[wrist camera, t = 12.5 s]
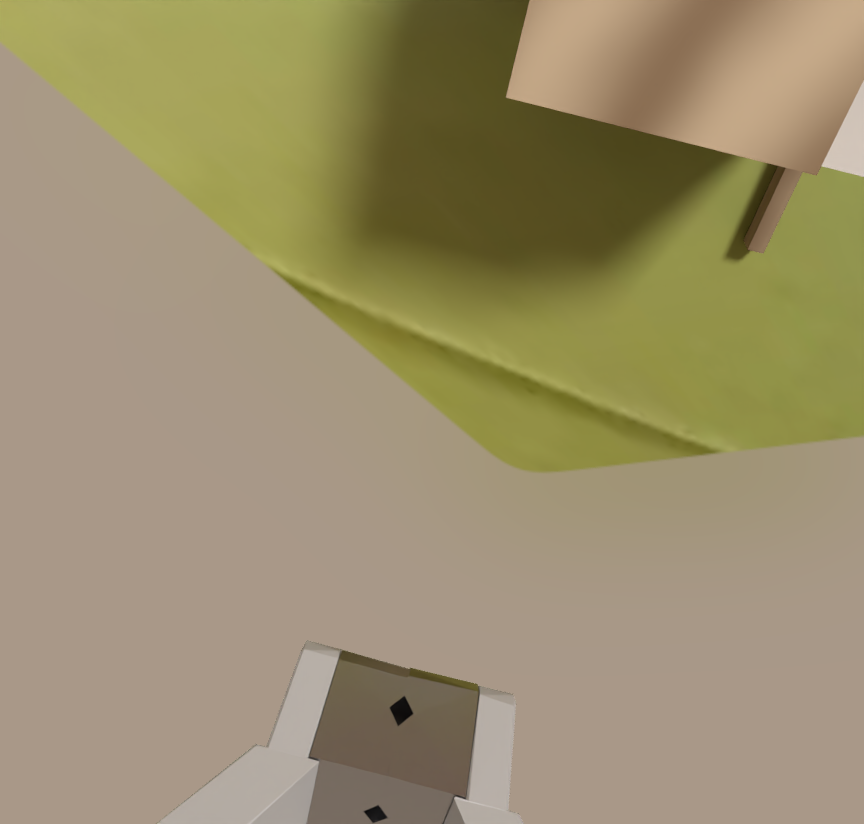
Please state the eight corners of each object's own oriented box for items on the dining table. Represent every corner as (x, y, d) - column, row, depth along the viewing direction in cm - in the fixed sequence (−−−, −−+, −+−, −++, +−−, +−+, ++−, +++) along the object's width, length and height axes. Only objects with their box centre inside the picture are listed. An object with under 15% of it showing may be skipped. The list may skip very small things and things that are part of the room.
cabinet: (492, 177, 40) (458, 294, 28) (633, -391, 28) (672, -585, 16) (785, 251, 40) (869, 399, 28) (1055, -290, 28) (1392, -413, 16)
